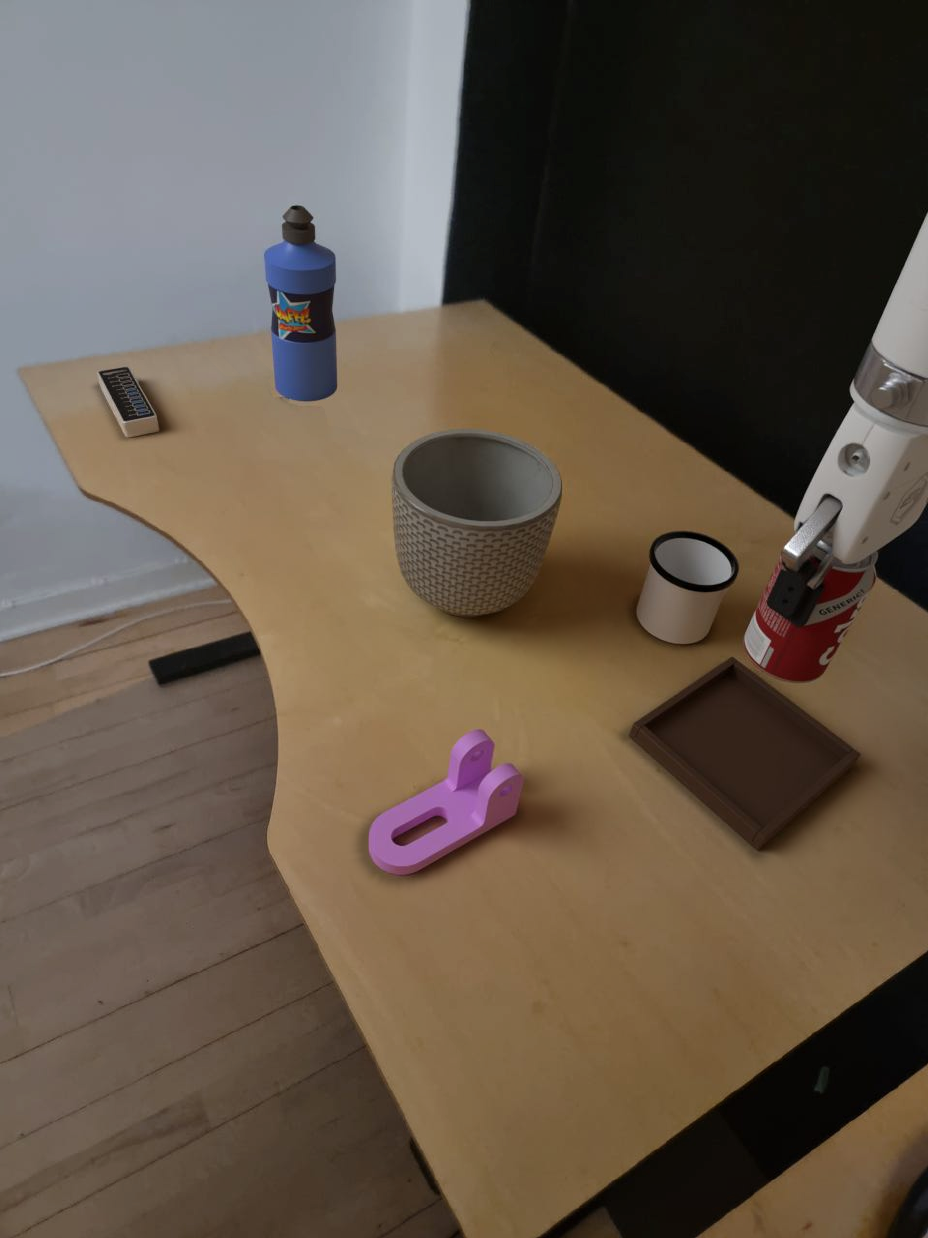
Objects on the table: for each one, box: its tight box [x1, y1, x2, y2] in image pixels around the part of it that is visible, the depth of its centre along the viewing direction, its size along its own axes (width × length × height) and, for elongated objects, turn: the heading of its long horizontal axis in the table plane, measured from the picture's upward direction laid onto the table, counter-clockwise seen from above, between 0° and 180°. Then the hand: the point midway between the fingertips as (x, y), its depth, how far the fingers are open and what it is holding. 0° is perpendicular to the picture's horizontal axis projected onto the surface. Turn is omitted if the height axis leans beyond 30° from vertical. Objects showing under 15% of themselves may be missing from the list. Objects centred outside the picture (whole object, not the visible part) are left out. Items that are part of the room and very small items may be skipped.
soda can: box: [742, 532, 879, 684], centre depth 65 cm, size 7×7×12 cm
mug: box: [635, 530, 740, 645], centre depth 93 cm, size 12×10×9 cm
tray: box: [628, 656, 861, 852], centre depth 82 cm, size 16×16×2 cm
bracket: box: [368, 728, 525, 876], centre depth 71 cm, size 13×6×7 cm, turn 125°
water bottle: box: [263, 204, 338, 403], centre depth 116 cm, size 9×9×25 cm
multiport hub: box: [96, 366, 160, 438], centre depth 116 cm, size 4×14×2 cm, turn 30°
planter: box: [390, 428, 563, 618], centre depth 90 cm, size 17×17×16 cm
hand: (814, 594), depth 64 cm, fingers closed on soda can, 6 cm apart
